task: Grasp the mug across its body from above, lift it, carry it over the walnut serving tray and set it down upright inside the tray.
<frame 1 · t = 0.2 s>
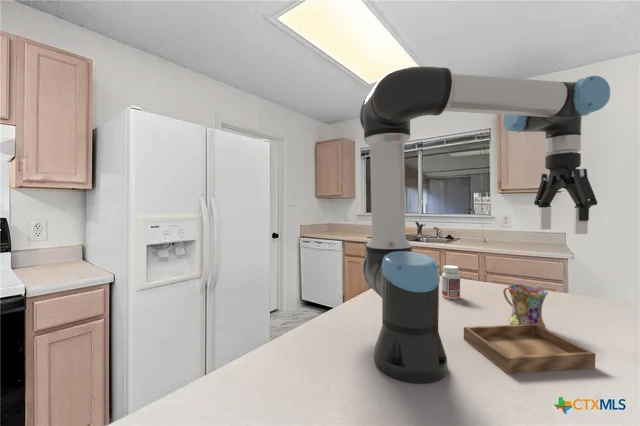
hand: (561, 231, 82), 27 cm above the countertop, fingers open, 13 cm apart
tray: (522, 352, 69), on the countertop
pill bottle: (450, 297, 111), on the countertop
mug: (522, 325, 85), on the countertop
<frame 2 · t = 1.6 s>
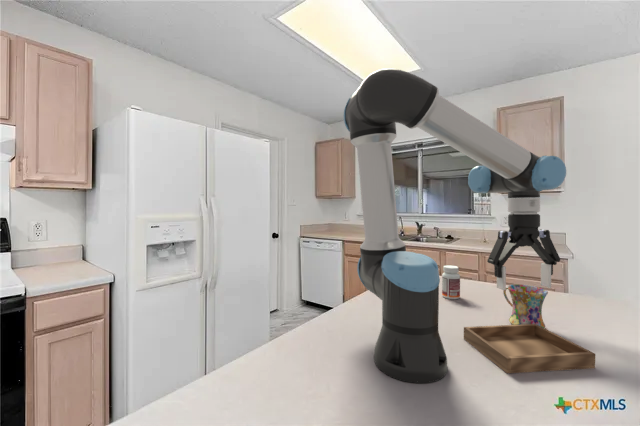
hand: (523, 287, 85), 10 cm above the countertop, fingers open, 13 cm apart
nothing on the countertop moved.
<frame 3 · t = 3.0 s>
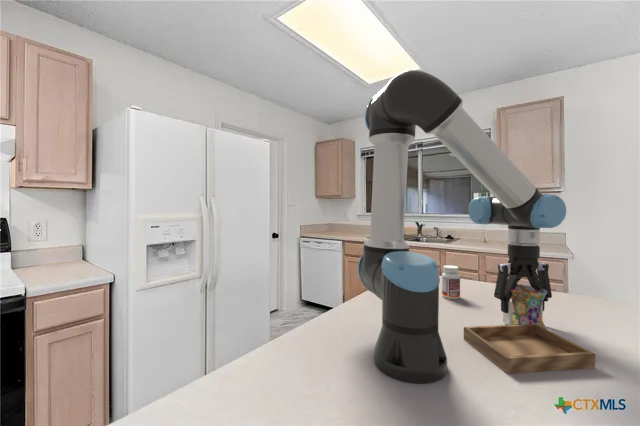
hand: (522, 322, 85), 0 cm above the countertop, fingers closed on mug, 8 cm apart
mug: (521, 325, 85), on the countertop, touching gripper
everything else where it was.
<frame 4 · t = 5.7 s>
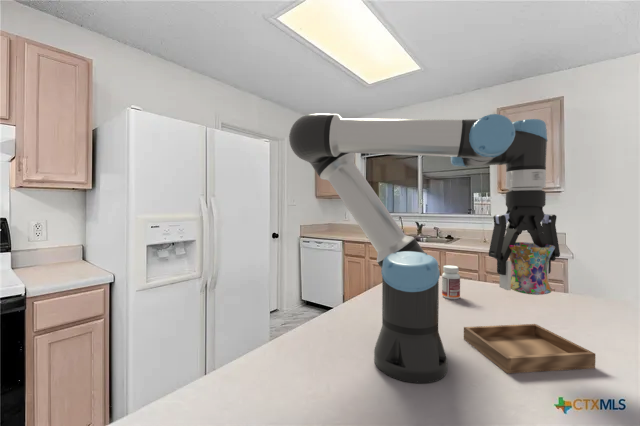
hand: (523, 287, 69), 15 cm above the countertop, fingers closed on mug, 8 cm apart
mug: (522, 290, 69), point 14 cm above the countertop, touching gripper
everything else where it was.
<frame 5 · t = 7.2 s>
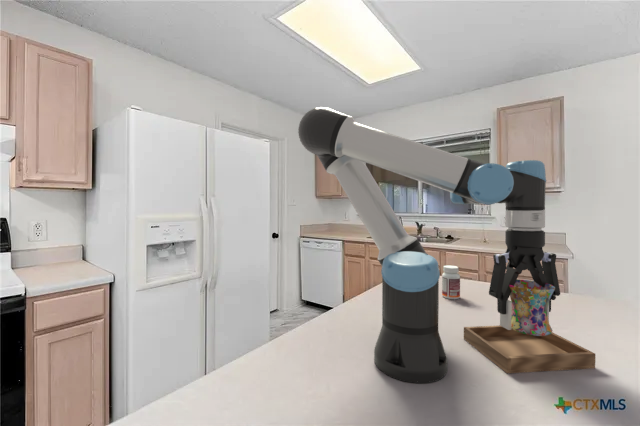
hand: (524, 326, 69), 6 cm above the countertop, fingers closed on mug, 8 cm apart
mug: (523, 329, 69), point 5 cm above the countertop, touching gripper
everything else where it was.
when the fingers open (2 cm above the countertop, at t = 8.4 s): mug drops 1 cm, resting on tray.
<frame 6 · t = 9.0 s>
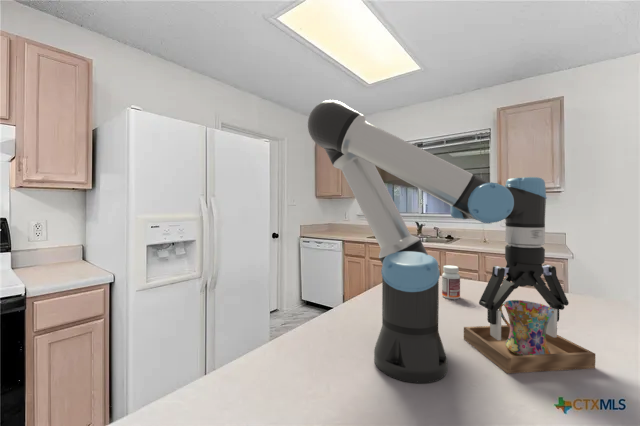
hand: (523, 336, 69), 4 cm above the countertop, fingers open, 13 cm apart
mug: (521, 350, 69), resting on tray
everything else where it was.
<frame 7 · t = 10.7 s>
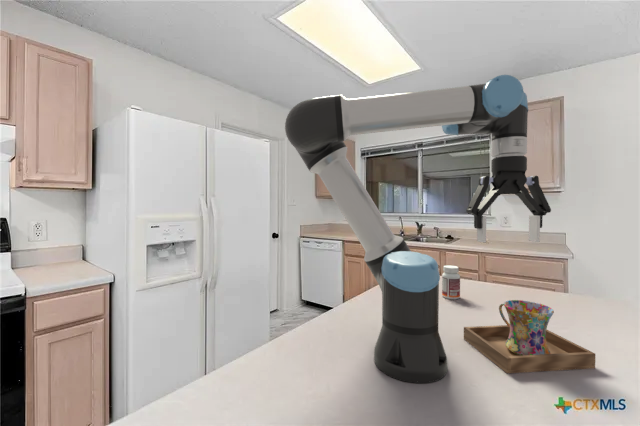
hand: (507, 241, 75), 25 cm above the countertop, fingers open, 13 cm apart
nothing on the countertop moved.
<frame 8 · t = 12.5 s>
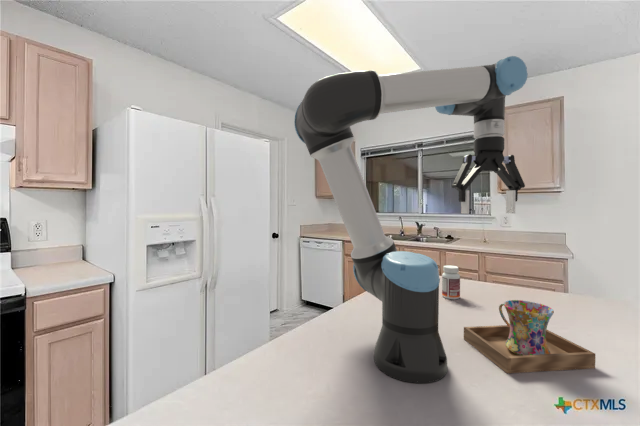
hand: (487, 213, 85), 32 cm above the countertop, fingers open, 13 cm apart
nothing on the countertop moved.
at the end: mug inside the target area on the tray (0.4 cm from its centre), point 0.4 cm above the tray's base; mug tilted 0°; the gripper is holding nothing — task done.
